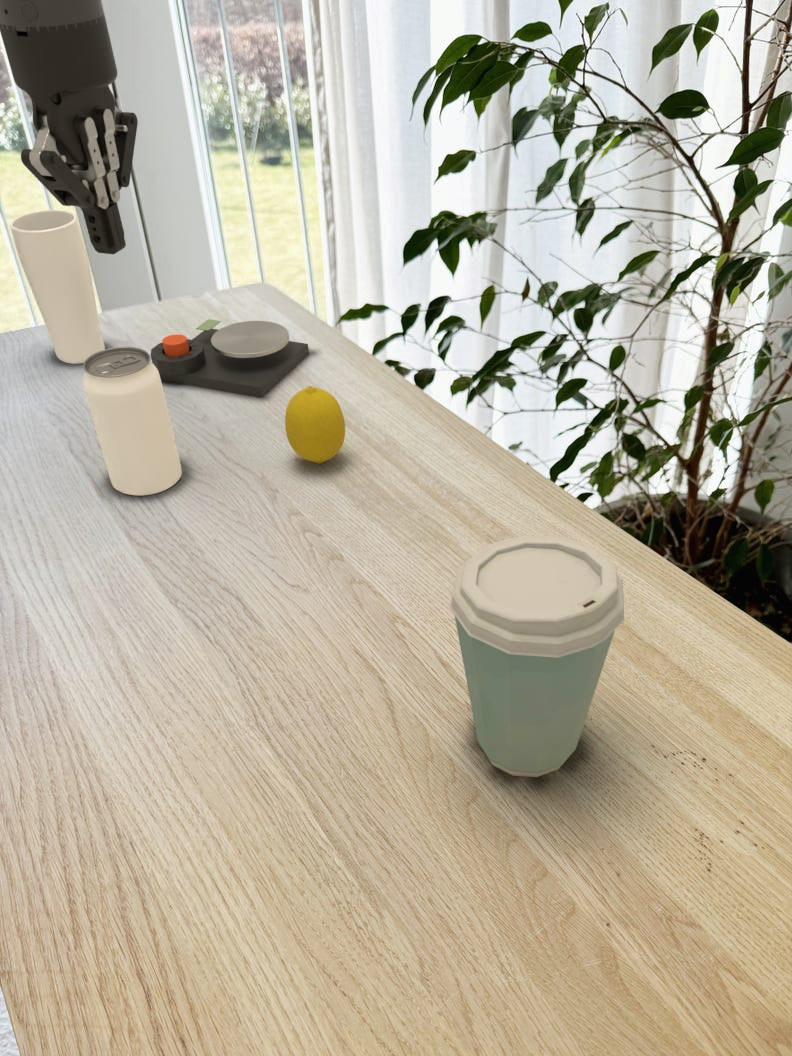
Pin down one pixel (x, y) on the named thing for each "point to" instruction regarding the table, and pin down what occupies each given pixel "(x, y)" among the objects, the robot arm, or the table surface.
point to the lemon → (315, 425)
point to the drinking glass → (60, 281)
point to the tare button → (175, 345)
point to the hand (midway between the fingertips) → (110, 250)
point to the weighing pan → (247, 338)
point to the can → (132, 420)
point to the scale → (227, 367)
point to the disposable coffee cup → (534, 645)
